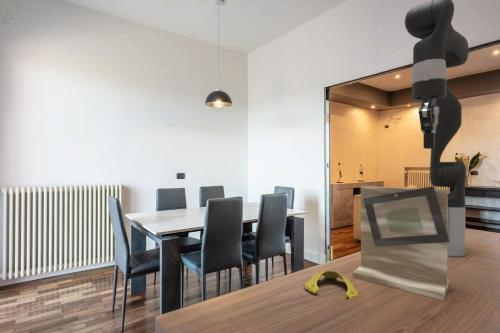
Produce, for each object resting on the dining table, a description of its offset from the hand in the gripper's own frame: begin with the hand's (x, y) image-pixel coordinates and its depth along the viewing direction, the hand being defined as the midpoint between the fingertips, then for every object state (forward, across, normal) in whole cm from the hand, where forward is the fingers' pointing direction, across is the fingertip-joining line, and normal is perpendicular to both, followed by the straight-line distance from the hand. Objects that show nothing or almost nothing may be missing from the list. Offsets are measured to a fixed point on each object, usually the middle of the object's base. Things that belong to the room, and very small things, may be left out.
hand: (428, 148), depth 74 cm
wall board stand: (+37, -2, -7) cm, 38 cm away
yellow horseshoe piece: (+38, +14, -20) cm, 45 cm away
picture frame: (+26, 0, -4) cm, 26 cm away
